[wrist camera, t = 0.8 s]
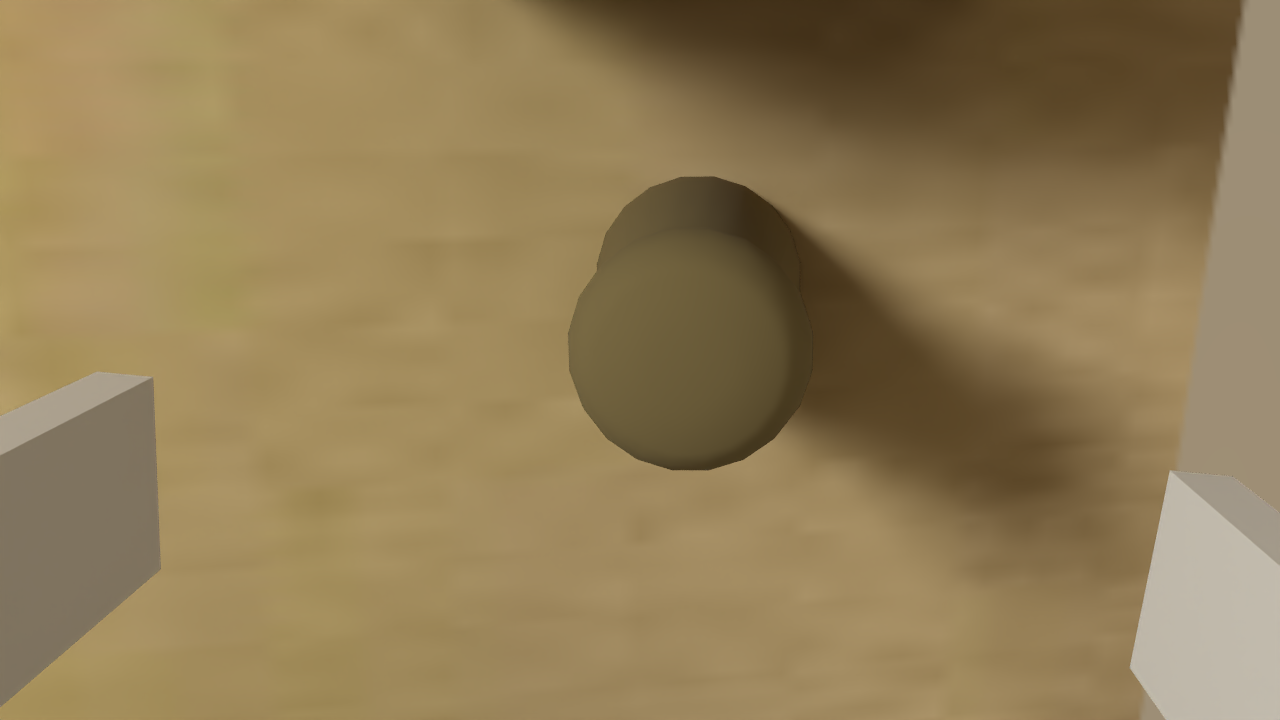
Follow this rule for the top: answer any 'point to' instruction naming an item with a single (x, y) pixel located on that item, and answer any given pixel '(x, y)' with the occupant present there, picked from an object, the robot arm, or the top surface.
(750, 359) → the cork
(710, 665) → the top surface
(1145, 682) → the robot arm
